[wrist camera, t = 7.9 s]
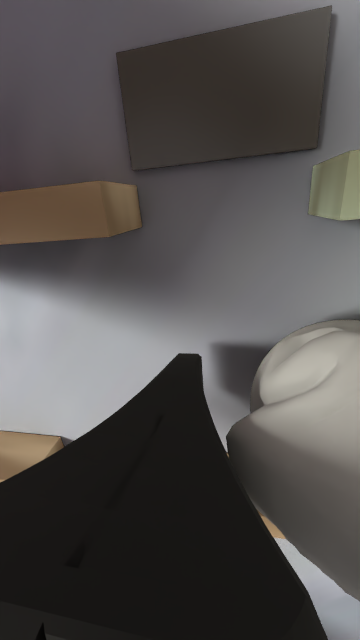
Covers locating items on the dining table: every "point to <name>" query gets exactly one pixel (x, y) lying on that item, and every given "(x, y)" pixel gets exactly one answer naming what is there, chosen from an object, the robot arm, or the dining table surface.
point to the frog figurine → (308, 446)
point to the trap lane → (194, 143)
